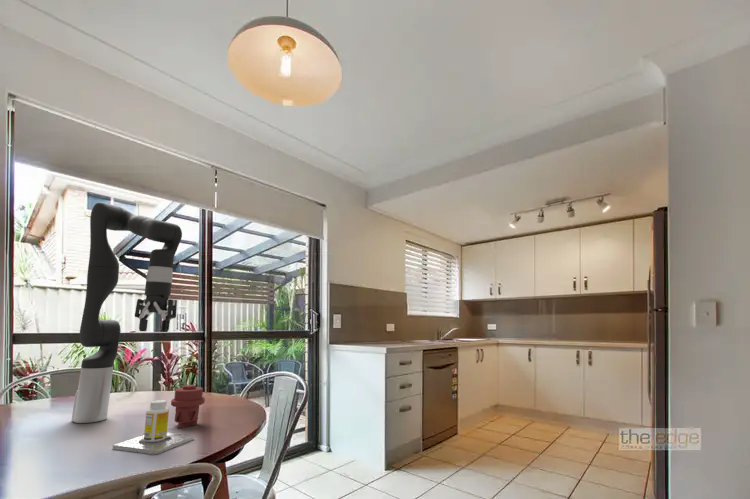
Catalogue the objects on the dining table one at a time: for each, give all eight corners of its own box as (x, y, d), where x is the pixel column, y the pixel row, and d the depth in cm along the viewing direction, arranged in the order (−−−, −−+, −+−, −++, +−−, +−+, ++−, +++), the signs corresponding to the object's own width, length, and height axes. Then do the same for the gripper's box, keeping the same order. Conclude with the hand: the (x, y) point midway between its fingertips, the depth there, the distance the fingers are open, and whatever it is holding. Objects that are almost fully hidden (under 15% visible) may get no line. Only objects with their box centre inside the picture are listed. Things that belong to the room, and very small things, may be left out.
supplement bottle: (169, 436, 113) (172, 399, 115) (162, 442, 108) (166, 403, 110) (147, 437, 112) (151, 399, 114) (139, 443, 107) (144, 403, 109)
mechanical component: (208, 422, 134) (189, 430, 124) (182, 420, 136) (161, 428, 126) (212, 384, 136) (193, 388, 126) (186, 382, 138) (165, 387, 128)
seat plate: (112, 449, 105) (112, 444, 106) (154, 434, 119) (154, 431, 119) (155, 454, 102) (156, 450, 102) (193, 439, 115) (194, 435, 115)
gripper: (185, 282, 133) (180, 332, 130) (151, 282, 136) (145, 330, 134) (168, 280, 125) (162, 332, 123) (132, 280, 129) (125, 331, 127)
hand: (153, 331), depth 128 cm, fingers open, 8 cm apart
